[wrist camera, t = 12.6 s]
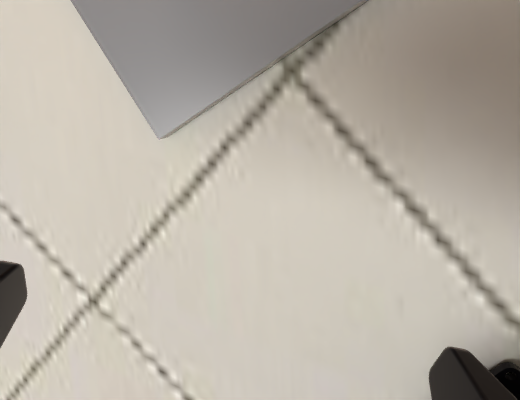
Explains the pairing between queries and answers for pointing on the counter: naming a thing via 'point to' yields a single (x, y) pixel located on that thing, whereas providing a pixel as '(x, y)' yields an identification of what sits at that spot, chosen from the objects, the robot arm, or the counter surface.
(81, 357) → the counter surface
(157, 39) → the base plate
